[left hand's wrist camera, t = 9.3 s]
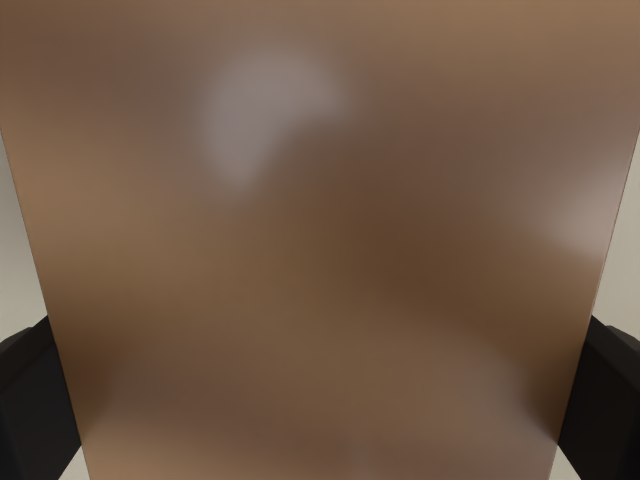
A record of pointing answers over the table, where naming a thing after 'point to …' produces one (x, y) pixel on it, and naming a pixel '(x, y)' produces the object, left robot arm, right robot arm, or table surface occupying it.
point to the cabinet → (319, 225)
